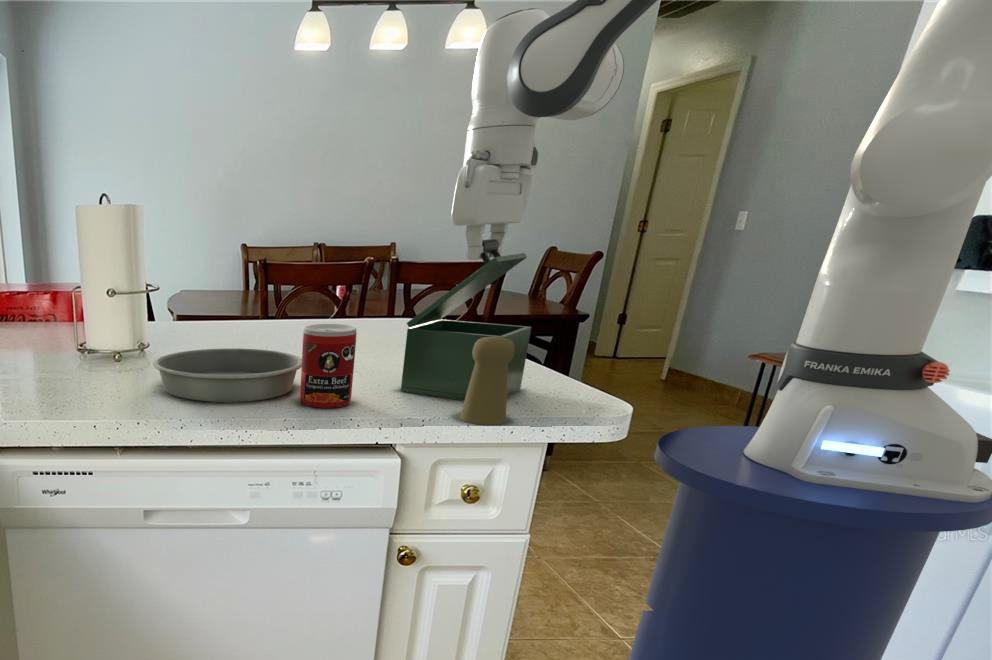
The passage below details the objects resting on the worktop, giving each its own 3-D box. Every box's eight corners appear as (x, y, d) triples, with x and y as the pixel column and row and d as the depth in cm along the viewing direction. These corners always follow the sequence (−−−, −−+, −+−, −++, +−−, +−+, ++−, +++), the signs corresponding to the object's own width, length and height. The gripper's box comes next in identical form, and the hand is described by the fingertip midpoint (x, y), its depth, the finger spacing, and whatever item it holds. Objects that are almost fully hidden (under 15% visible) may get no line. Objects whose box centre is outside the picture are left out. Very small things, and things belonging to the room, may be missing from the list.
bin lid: (527, 257, 107) (510, 229, 108) (498, 261, 98) (479, 231, 99) (441, 318, 118) (426, 293, 119) (408, 327, 110) (392, 300, 110)
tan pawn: (461, 423, 96) (473, 340, 92) (457, 412, 102) (468, 333, 97) (509, 425, 95) (524, 341, 90) (502, 414, 100) (516, 334, 96)
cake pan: (293, 371, 129) (294, 346, 127) (311, 405, 106) (313, 374, 104) (158, 372, 129) (157, 347, 127) (148, 406, 107) (147, 376, 105)
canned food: (299, 408, 105) (303, 331, 100) (299, 395, 112) (303, 323, 107) (352, 409, 104) (358, 332, 99) (349, 396, 111) (355, 323, 106)
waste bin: (520, 389, 114) (531, 326, 110) (492, 404, 105) (503, 337, 101) (432, 378, 123) (440, 319, 119) (400, 391, 114) (407, 328, 110)
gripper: (494, 147, 91) (479, 262, 96) (543, 155, 105) (527, 255, 110) (446, 151, 95) (434, 261, 100) (499, 158, 109) (486, 255, 114)
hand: (483, 258), depth 105 cm, fingers closed on bin lid, 6 cm apart
